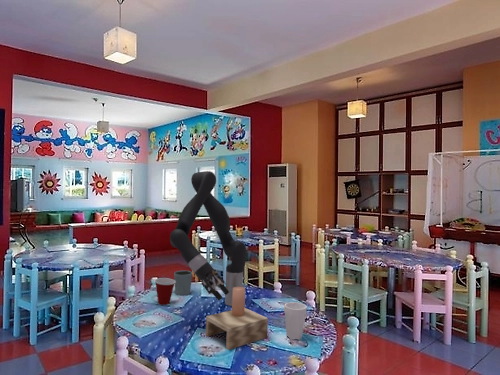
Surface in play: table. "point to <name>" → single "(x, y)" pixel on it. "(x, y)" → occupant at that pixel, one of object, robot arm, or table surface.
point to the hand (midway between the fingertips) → (224, 296)
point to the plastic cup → (164, 290)
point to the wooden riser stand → (237, 327)
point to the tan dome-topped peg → (238, 301)
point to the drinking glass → (182, 282)
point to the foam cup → (295, 319)
